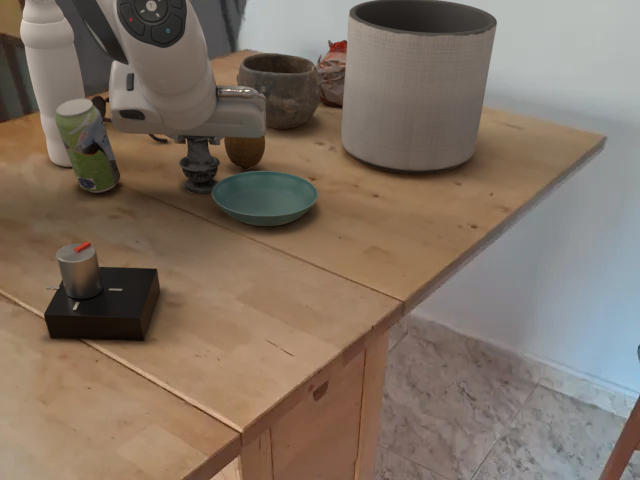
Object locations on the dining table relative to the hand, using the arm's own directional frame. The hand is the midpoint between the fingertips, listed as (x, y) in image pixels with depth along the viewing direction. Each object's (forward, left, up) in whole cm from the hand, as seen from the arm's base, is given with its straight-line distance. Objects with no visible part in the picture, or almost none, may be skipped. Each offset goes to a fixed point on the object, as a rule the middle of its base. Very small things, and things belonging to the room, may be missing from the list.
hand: (198, 139), depth 98 cm
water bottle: (-21, +7, -7) cm, 23 cm away
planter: (+32, +15, -7) cm, 36 cm away
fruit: (+6, +6, -7) cm, 11 cm away
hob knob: (-8, -35, -4) cm, 36 cm away
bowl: (+10, +26, -7) cm, 29 cm away
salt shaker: (0, -1, -7) cm, 7 cm away
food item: (+21, +41, -7) cm, 47 cm away
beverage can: (-15, -3, -7) cm, 17 cm away
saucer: (+10, -8, -7) cm, 14 cm away
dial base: (-6, -35, -7) cm, 36 cm away
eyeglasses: (-13, +23, -7) cm, 28 cm away
